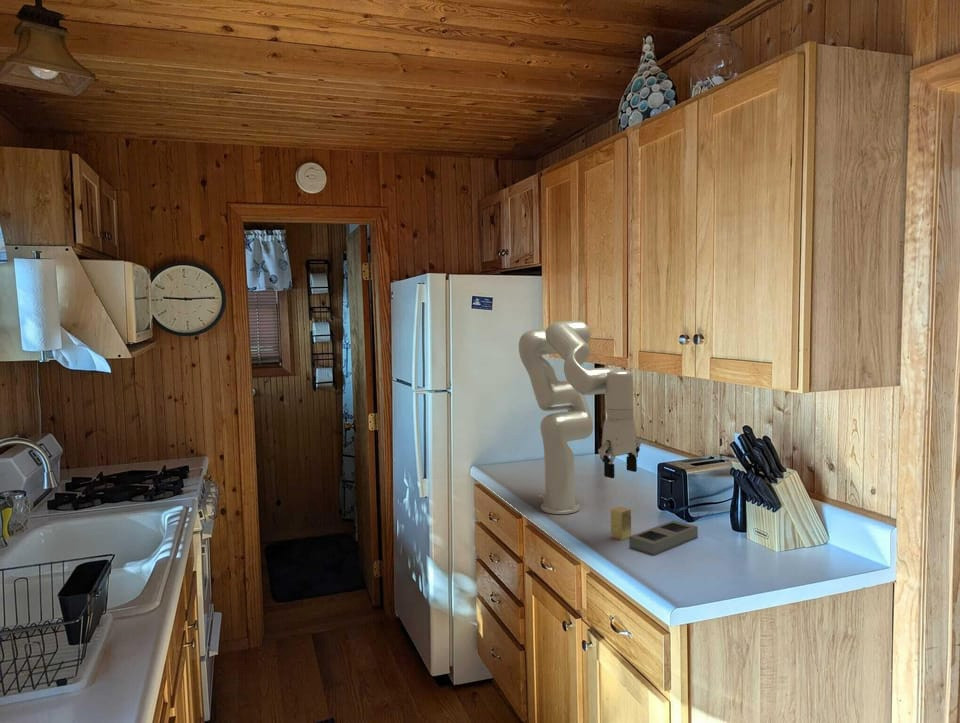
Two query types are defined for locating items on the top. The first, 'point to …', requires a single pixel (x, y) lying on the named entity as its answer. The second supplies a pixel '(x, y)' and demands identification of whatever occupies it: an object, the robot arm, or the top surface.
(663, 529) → the grey slotted block
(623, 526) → the yellow rectangular block
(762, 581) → the top surface
